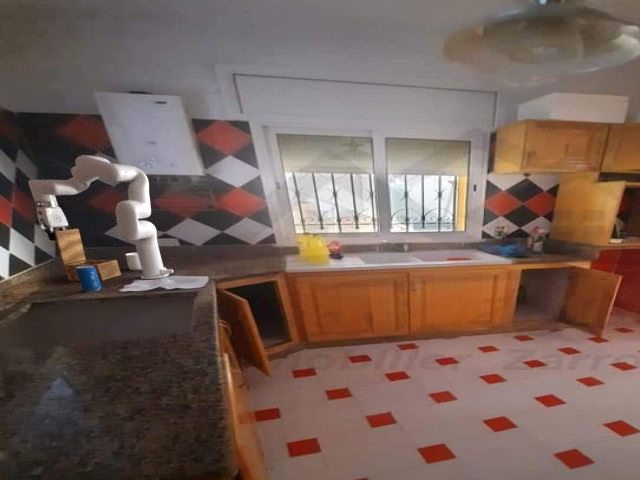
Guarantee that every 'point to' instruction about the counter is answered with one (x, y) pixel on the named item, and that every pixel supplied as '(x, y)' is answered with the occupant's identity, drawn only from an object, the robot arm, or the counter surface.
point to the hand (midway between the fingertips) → (58, 239)
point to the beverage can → (88, 278)
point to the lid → (70, 246)
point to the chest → (102, 267)
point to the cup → (133, 261)
